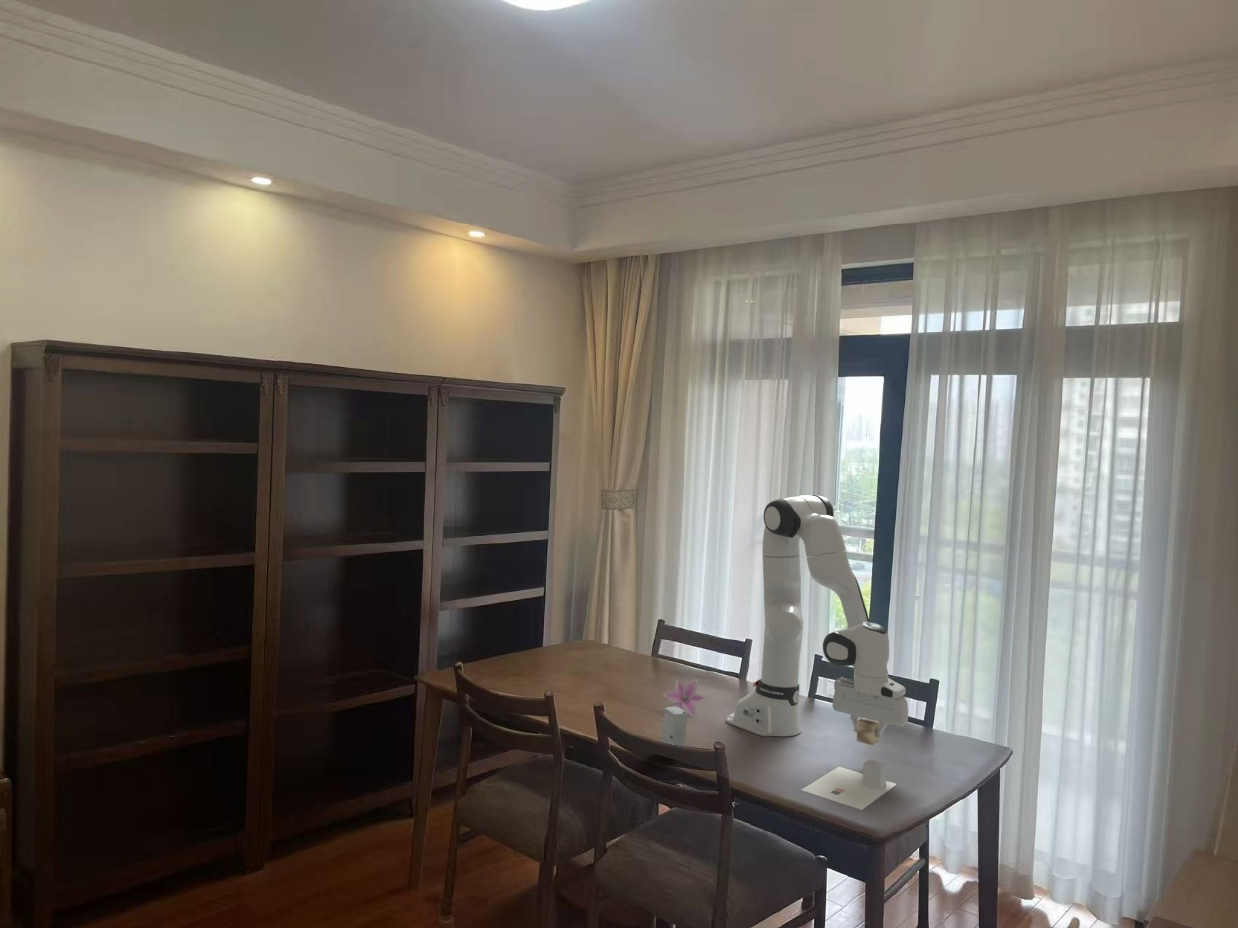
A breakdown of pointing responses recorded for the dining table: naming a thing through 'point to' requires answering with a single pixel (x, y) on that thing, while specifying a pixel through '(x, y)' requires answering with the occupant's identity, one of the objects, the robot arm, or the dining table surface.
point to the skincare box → (674, 726)
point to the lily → (685, 696)
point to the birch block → (867, 731)
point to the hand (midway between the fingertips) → (868, 734)
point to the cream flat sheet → (846, 788)
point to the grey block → (874, 774)
